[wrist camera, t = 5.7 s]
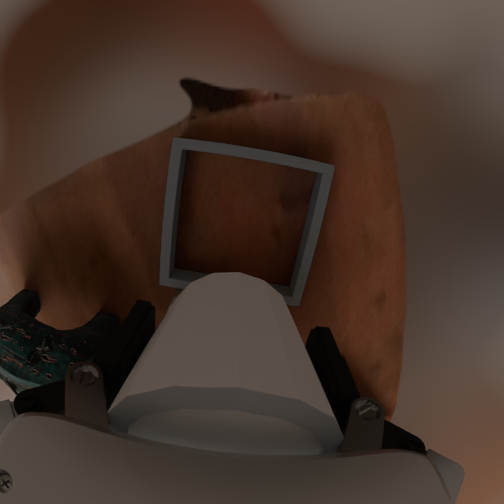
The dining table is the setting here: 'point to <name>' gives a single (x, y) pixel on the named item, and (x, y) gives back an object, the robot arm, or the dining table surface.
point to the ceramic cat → (44, 343)
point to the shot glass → (228, 376)
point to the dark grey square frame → (181, 145)
